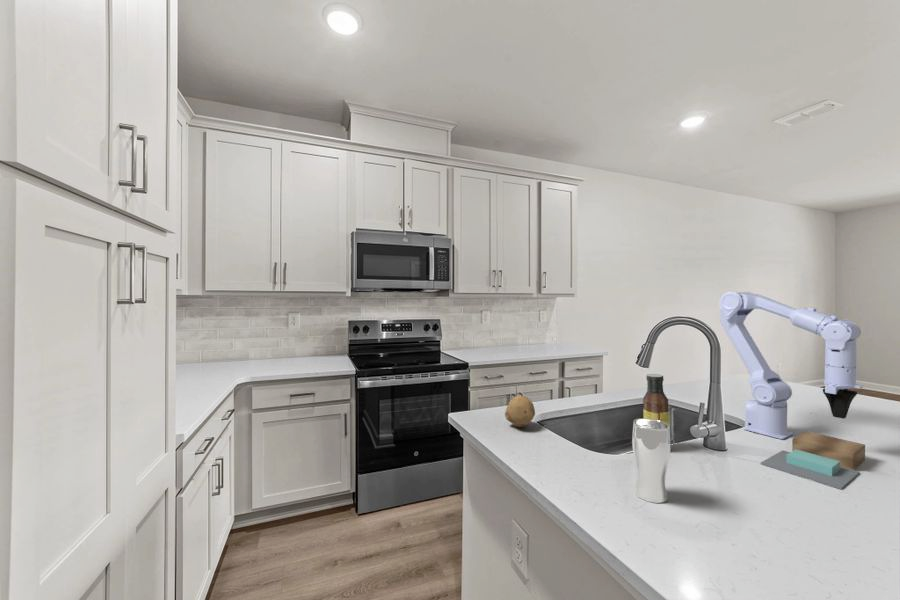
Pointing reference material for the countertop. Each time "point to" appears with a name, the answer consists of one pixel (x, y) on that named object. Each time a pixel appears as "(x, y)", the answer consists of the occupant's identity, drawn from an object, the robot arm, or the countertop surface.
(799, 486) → the countertop surface
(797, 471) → the mat
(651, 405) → the sauce bottle
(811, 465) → the tile
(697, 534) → the countertop surface
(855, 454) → the block
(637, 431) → the beer glass
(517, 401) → the tan round lump
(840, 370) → the robot arm
